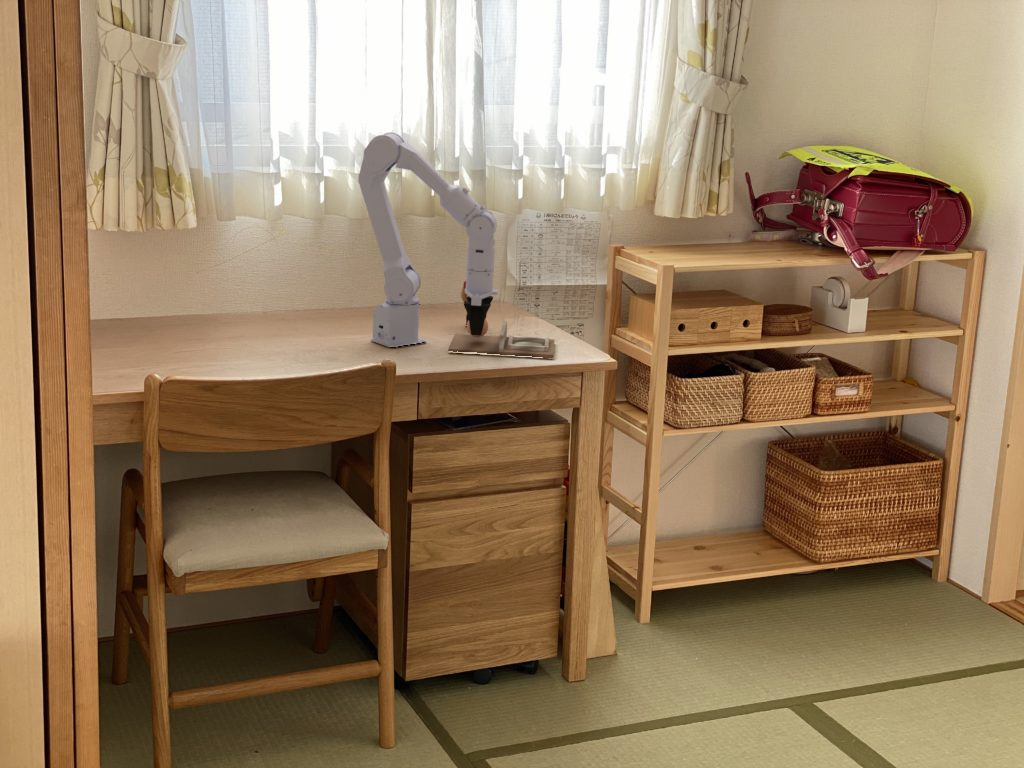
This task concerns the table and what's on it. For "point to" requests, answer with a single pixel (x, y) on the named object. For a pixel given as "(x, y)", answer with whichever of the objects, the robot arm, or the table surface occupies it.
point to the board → (504, 344)
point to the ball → (482, 330)
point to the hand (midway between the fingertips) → (477, 332)
